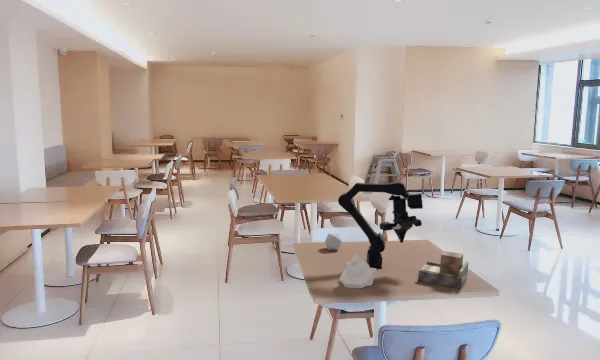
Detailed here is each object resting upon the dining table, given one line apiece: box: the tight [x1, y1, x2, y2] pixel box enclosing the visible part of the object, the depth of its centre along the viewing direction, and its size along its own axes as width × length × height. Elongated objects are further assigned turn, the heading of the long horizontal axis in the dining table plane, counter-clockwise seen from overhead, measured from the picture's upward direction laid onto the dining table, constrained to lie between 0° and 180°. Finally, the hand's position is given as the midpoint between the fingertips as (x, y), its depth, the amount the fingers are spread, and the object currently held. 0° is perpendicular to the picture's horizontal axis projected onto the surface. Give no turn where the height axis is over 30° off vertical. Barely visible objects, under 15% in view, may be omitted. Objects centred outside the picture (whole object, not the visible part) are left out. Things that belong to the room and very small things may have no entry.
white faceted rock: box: [339, 253, 378, 289], centre depth 203 cm, size 12×15×14 cm
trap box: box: [417, 261, 469, 290], centre depth 214 cm, size 18×16×8 cm
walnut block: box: [439, 250, 464, 276], centre depth 211 cm, size 8×7×8 cm
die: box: [324, 233, 343, 251], centre depth 255 cm, size 8×9×10 cm
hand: (401, 242), depth 224 cm, fingers closed
